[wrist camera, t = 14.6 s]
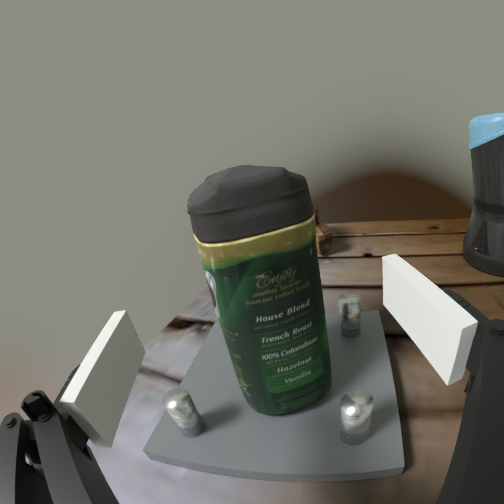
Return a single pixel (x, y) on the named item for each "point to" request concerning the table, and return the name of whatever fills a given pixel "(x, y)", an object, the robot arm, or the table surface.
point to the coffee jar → (265, 283)
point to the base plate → (289, 414)
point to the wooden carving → (322, 234)
